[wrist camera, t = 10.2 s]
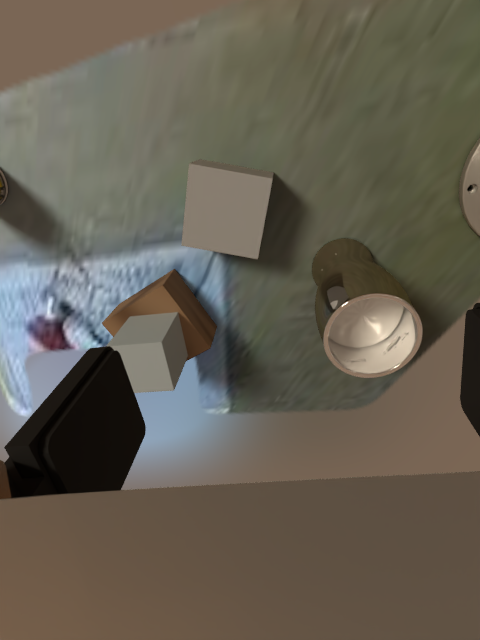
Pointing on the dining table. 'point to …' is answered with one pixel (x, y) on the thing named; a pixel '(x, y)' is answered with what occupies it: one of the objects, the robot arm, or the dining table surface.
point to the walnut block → (168, 311)
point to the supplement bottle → (3, 188)
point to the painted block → (152, 351)
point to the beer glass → (362, 312)
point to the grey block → (226, 208)
